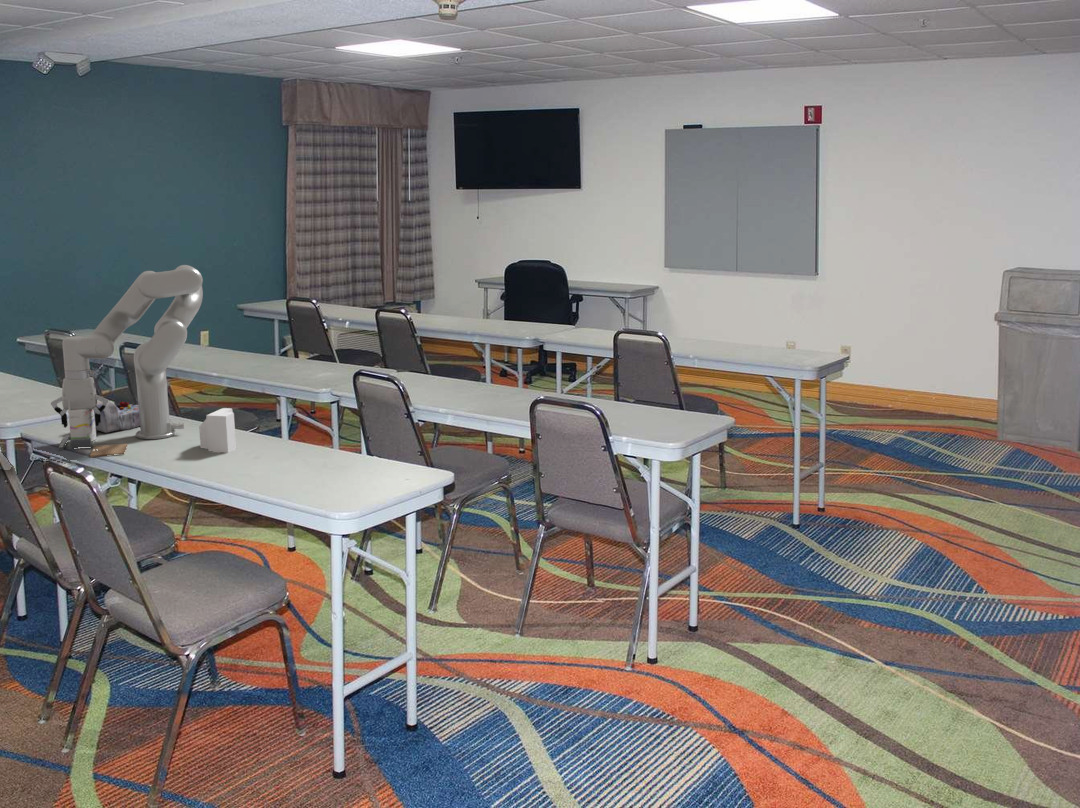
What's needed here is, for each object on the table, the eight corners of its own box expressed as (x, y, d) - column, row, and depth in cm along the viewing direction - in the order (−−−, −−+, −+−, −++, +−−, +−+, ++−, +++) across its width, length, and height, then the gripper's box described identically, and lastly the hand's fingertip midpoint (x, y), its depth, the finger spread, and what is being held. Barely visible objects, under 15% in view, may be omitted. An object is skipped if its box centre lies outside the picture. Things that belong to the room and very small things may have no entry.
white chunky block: (228, 453, 335) (225, 416, 332) (195, 451, 337) (192, 414, 334) (243, 444, 345) (241, 409, 342) (212, 442, 347) (209, 407, 344)
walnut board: (127, 445, 343) (127, 443, 343) (124, 454, 332) (123, 453, 332) (94, 447, 340) (94, 445, 340) (89, 457, 329) (89, 455, 329)
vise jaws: (97, 435, 356) (96, 427, 355) (90, 448, 340) (90, 439, 339) (66, 437, 353) (65, 429, 352) (58, 450, 337) (57, 441, 336)
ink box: (86, 446, 343) (81, 401, 339) (70, 446, 343) (66, 401, 340) (97, 439, 351) (93, 396, 348) (82, 439, 351) (78, 396, 348)
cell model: (80, 401, 358) (125, 392, 376) (82, 432, 361) (127, 421, 378) (108, 404, 353) (152, 394, 371) (110, 436, 355) (154, 424, 373)
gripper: (107, 371, 348) (111, 422, 351) (50, 373, 343) (54, 424, 347) (104, 375, 341) (108, 427, 344) (46, 377, 336) (51, 429, 340)
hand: (81, 425), depth 346 cm, fingers open, 9 cm apart
